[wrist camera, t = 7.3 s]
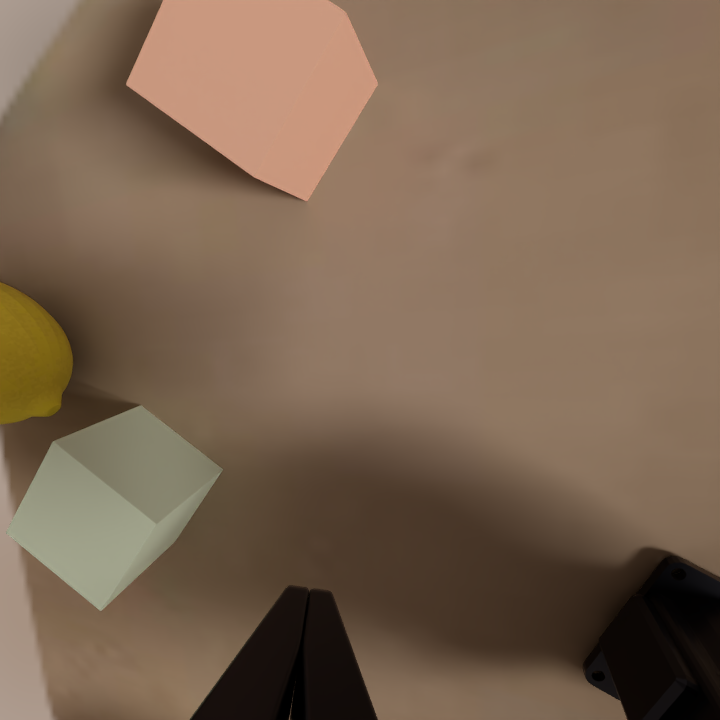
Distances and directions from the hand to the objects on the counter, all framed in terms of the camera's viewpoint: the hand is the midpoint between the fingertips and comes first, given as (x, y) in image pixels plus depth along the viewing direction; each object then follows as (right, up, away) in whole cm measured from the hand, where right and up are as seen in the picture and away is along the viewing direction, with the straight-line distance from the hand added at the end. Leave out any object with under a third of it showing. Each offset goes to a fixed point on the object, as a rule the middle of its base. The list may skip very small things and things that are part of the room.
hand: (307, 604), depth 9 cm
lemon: (-12, +2, +11) cm, 16 cm away
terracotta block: (-2, +14, +9) cm, 17 cm away
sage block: (-9, -1, +14) cm, 16 cm away
